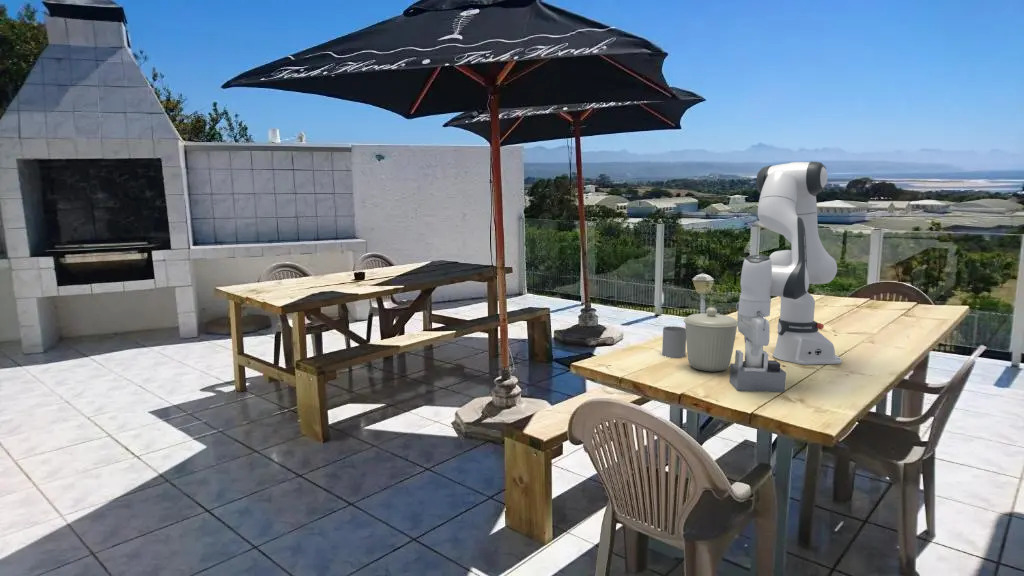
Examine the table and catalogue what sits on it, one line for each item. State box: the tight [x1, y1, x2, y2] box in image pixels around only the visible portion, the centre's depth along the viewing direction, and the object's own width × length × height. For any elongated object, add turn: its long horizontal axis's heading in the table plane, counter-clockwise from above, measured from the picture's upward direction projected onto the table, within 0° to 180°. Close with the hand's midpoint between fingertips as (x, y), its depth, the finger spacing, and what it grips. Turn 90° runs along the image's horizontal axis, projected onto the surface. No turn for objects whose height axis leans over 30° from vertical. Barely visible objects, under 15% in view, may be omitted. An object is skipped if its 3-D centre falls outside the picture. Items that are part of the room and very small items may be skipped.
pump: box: [744, 339, 764, 368], centre depth 186 cm, size 5×5×9 cm
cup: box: [661, 325, 687, 359], centre depth 223 cm, size 8×8×10 cm
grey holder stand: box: [728, 349, 787, 393], centre depth 186 cm, size 14×9×11 cm, turn 85°
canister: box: [683, 306, 738, 373], centre depth 206 cm, size 18×18×21 cm
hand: (751, 353), depth 186 cm, fingers closed on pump, 5 cm apart
